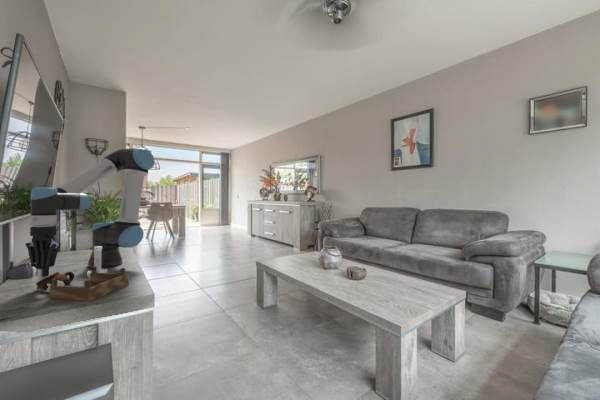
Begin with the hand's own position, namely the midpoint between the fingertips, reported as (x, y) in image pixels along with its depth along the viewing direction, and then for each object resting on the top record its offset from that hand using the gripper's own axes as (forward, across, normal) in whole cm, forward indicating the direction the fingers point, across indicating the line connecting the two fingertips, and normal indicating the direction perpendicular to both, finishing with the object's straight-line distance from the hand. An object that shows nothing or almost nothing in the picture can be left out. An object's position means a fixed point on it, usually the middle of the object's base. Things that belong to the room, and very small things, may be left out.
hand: (42, 284), depth 104 cm
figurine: (+2, +12, +13) cm, 18 cm away
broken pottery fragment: (+2, +7, 0) cm, 8 cm away
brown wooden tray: (+2, +21, 0) cm, 21 cm away
